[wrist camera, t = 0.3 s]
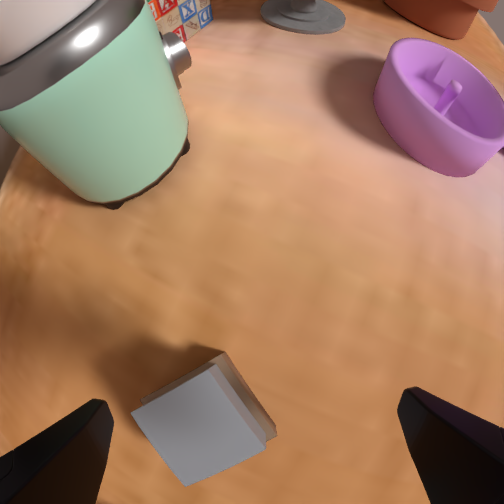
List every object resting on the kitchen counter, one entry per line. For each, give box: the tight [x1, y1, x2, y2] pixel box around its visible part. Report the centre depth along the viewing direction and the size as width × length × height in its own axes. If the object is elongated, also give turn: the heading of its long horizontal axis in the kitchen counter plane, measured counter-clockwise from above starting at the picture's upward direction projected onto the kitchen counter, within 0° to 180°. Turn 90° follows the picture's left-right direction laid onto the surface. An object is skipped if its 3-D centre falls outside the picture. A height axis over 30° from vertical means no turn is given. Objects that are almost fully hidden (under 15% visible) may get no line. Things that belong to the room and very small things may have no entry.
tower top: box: [131, 364, 266, 487], centre depth 16 cm, size 6×6×3 cm
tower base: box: [140, 352, 277, 442], centre depth 19 cm, size 7×7×3 cm
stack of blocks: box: [147, 0, 213, 42], centre depth 25 cm, size 21×6×12 cm, turn 150°
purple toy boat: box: [373, 38, 504, 177], centre depth 20 cm, size 25×15×13 cm, turn 89°
